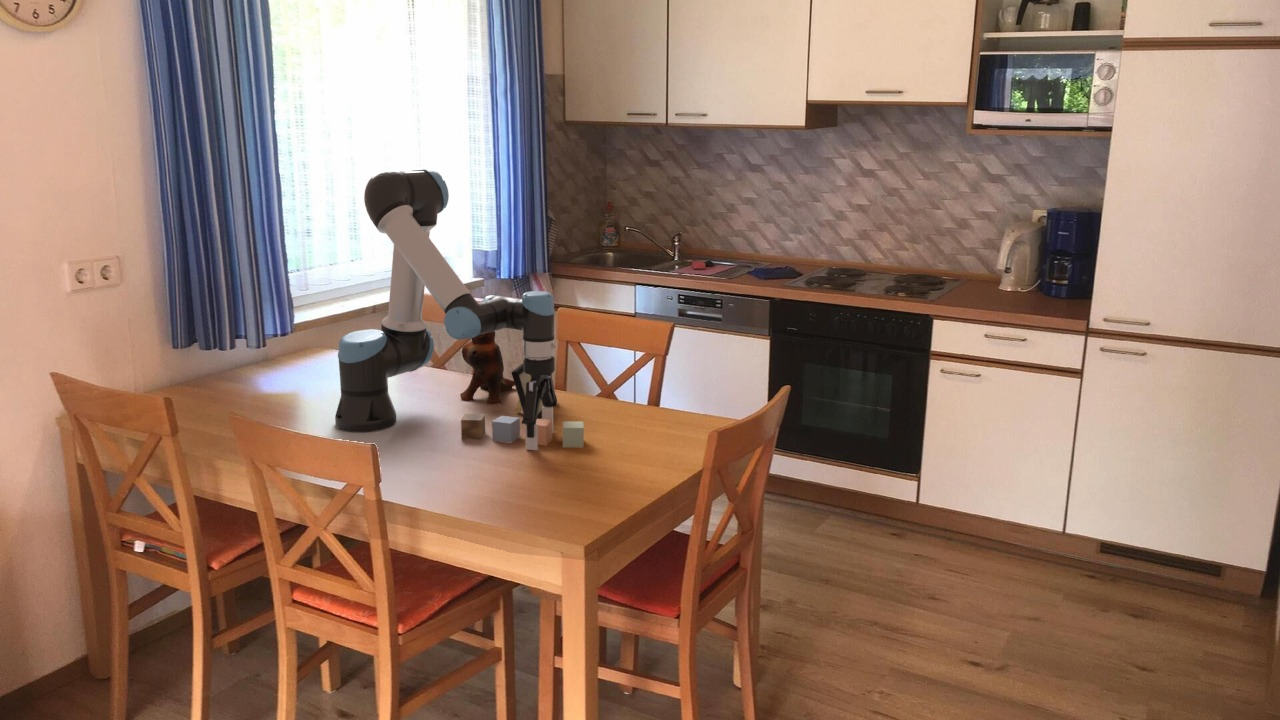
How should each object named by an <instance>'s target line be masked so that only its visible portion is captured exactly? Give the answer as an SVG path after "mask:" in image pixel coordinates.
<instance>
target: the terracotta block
mask: <svg viewBox="0 0 1280 720" xmlns="http://www.w3.org/2000/svg"><path fill="white" fill-rule="evenodd" d="M536 423H538V446H547V445H548V444H549V443H550V442H551V441H552V440H553V433H552V420H547V419H542V418H541V419H537V420H536Z"/></svg>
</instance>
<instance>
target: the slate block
mask: <svg viewBox="0 0 1280 720" xmlns="http://www.w3.org/2000/svg"><path fill="white" fill-rule="evenodd" d="M520 419H521V418H520V417H517V416H508V415H507V416H506V415H500V416H499V417H497V418H495V419H493V420H492V421H491V426H492V427H491V428H492V429H491V431H492V432H491V433H492V434H491V435H492V437H491V439H492V441H495V442H501V443H502V442H503V443H508V444H509V443H510V444H512V443H513V442H514V441H516V440H517V439H519V438H520V437H521V422H520V421H521V420H520Z"/></svg>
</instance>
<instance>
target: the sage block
mask: <svg viewBox="0 0 1280 720" xmlns="http://www.w3.org/2000/svg"><path fill="white" fill-rule="evenodd" d="M584 427H585V426H584V421H562V448H584V434H585V431H584V430H585V429H584Z"/></svg>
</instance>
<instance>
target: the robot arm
mask: <svg viewBox="0 0 1280 720" xmlns="http://www.w3.org/2000/svg"><path fill="white" fill-rule="evenodd" d="M363 195H364V197H363V198H364V199H363V200H364V206H365V209H366V212H367V215H368V217H369V219H370V221H371V222H372V223H373V225H374V227H375V228H376V230H378V232H379V233H381V234H386V236H387V237H388V238H389V240H390V241H391V242H392V243H393V251H392V261H391V262H392V265H391V276H390V287H389V288H390V289H389V302H388V313H387V315H386V316H385V317H384V318H383V319H382V320H381V323H380V324H381V325H380V329H376V328H375V329H371V328H367V329H363V330H360V329H358V330H355V331H352V332H349V333H346V334H345V335H343V336H342V337H341V338H340V339H339V341H338V352H337V359H338V368H339V370H338V371H339V381H340V384H339V385H340V398H339V402H338V404H337V409H336V411H335V417H334V419H335V420H334V421H335V426H336V428H337V427H338V428H337V429H339V430H342V431H347V432H352V433H353V432H358V433H359V432H360V433H362V432H376V431H380V430H381V431H382V430H385V429H388V428H390V427H392V426H394V425H395V424H396V423H397V411H396V409H395V407H394V404H393V401H392V399H391V396H390V394H389V383H388V382H389V381H388V378H392V377H395V376H398V375H402V374H405V373H412V372H415V371H417V370H419V369H421V368H423V367H425V366H426V365H427V364H428V363H429V362H430V361H431V359H432V356H433V355H434V352H435V351H434V349H435V342H434V338H433V337H432V333H431V332H430V330H429V329H428V328H427V327H428V326H427V325H428V324H427V323H426V322H425V320H424V319H423V308H424V299H425V298H424V297H425V288H426V289H427V291H428V292H429V293H430V295H431V297H433V299H434V300H435V302H436V303H437V304H438V305H439V307H440V308H441V309H442V311H443V312H444V313H445V315H444V317H443V318H444V319H443V325H444V326H445V331H446V332H447V335H448V336H450V337H451V338H452V339H454V340H458V341H459V340H461V341H462V340H467V339H468V340H470V339H471V338H474V337H476V336H478V335H482V334H485V333H490V332H493V331H495V332H497V331H500V330H504V329H511V330H517V331H522V355H523V359H522V360H523V361H522V364H523V370H524V372H525V373H526V374H529V375H531V381H530V382H527V383H526V396H525V404H524V413H523V412H522V413H523V414H522V420H521V424H522V425H525V450H528V451H538V450H539V445H538V423H536V420H537V415H538V409H539V404H540V400H542V403H543V406H545V407H542V418H541V419H547V420H552V434H553V433H554V407H555V408H556V407H557V405H558V404H557V403H558V401H557V402H555V401H556V398H557V397H556V398H555V395H556V392H554V391H555V387H554V382H553V374H554V372H555V369H556V365H555V364H556V361H555V357H554V355H555V348H557V343H555V314H556V309H555V301H554V296H553V294H552V293H551V292H548V291H543V290H539V291H538V290H535V291H532V290H531V291H526V292H524V293H523V294H522V297H521V298H517V297H511V296H504V295H501V294H497V295H492V294H490V295H487V296H484V297H483V298H484V299H482V300H481V301H479V302H478V301H477V300H476V299H475V297H474V296H473V295H472V293H471V292H470V291H469V289H468V288H467V287H466V286H465V284H464V282H463V281H462V280H461V279H460V277H459V275H457V273H456V272H455V271H454V269H453V268H452V266H450V264H449V262H448V261H447V259H446V258H445V257H444V256H443V255H442V253H441V252H440V250H439V249H438V247H437V246H436V245H435V244H434V243H433V241H432V240H431V238H430V232H431V230H432V229H433V228H435V227H436V226H437V224H438V223H437V222H438V215H439V214H440V213H441V212H443V211H444V209H446V207H447V206H448V204H449V197H450V196H449V189H448V185H447V182H446V181H445V180H444V179H443V176H442V175H441V174H440V173H439V172H437V171H436V170H435V169H433V168H429V167H418V166H416V167H408V168H397V169H396V168H395V169H392V168H390V169H389V168H388V169H383V170H381V171H378V172H377V173H375V174H374V175H373V176H371V178H370V179H368V182H367V184H366V186H365V189H364V194H363ZM552 406H553V407H552ZM529 418H531V419H529Z"/></svg>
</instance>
